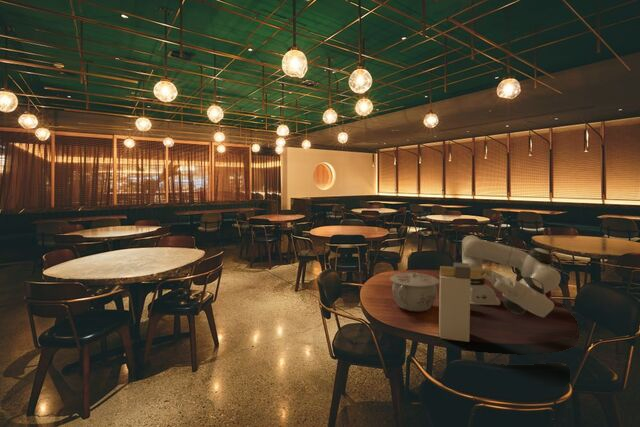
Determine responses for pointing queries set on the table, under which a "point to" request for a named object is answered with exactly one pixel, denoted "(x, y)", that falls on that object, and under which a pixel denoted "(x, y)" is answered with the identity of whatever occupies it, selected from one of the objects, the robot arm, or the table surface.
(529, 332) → the table surface
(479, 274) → the wooden rectangular plunger
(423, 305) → the chamber pot
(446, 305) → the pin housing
